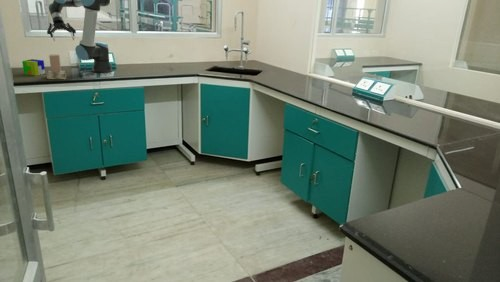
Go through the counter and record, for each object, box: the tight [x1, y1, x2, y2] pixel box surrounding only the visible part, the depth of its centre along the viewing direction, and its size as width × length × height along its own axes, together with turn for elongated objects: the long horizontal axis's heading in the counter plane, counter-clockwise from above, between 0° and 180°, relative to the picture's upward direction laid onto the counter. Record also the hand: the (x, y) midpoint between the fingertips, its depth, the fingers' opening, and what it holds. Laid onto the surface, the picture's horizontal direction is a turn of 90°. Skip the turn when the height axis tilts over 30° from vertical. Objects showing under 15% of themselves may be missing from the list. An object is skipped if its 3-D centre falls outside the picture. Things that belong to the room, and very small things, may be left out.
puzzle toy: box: [21, 59, 46, 76], centre depth 286 cm, size 10×10×10 cm
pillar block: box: [48, 54, 62, 73], centre depth 275 cm, size 6×6×12 cm
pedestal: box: [45, 70, 67, 80], centre depth 278 cm, size 12×12×5 cm
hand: (64, 39), depth 289 cm, fingers open, 13 cm apart
